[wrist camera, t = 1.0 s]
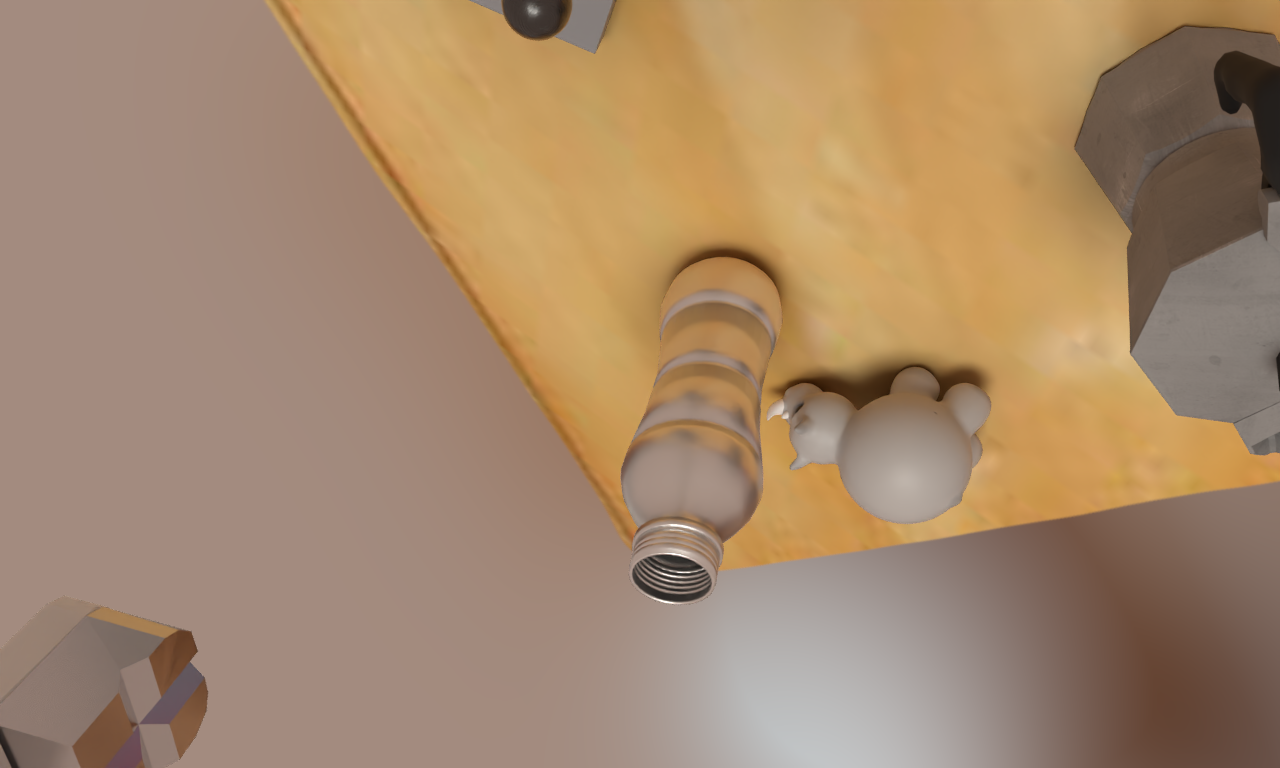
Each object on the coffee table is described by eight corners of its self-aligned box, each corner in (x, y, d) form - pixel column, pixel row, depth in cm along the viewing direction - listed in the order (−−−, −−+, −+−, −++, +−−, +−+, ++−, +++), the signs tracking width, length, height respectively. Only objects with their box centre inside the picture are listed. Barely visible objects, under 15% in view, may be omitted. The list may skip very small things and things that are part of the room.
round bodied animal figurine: (810, 313, 58) (742, 395, 53) (1011, 381, 53) (959, 479, 48) (800, 402, 63) (737, 485, 58) (984, 472, 58) (934, 571, 53)
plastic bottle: (645, 271, 55) (561, 554, 41) (746, 220, 51) (694, 510, 37) (708, 349, 58) (651, 638, 44) (808, 306, 55) (782, 604, 40)
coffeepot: (1300, 220, 46) (1464, 513, 33) (1083, 259, 49) (1154, 538, 36) (1320, -116, 37) (1556, 105, 24) (1052, -40, 40) (1132, 190, 27)
